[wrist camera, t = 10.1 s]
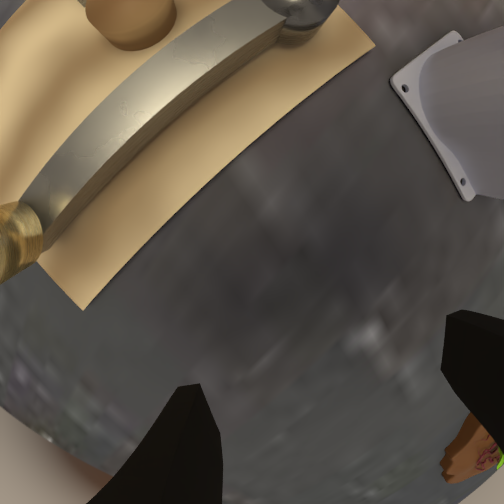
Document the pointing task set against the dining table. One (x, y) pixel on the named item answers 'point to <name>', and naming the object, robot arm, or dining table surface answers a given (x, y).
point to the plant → (470, 452)
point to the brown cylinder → (132, 21)
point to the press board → (155, 151)
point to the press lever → (145, 115)
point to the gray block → (82, 2)
